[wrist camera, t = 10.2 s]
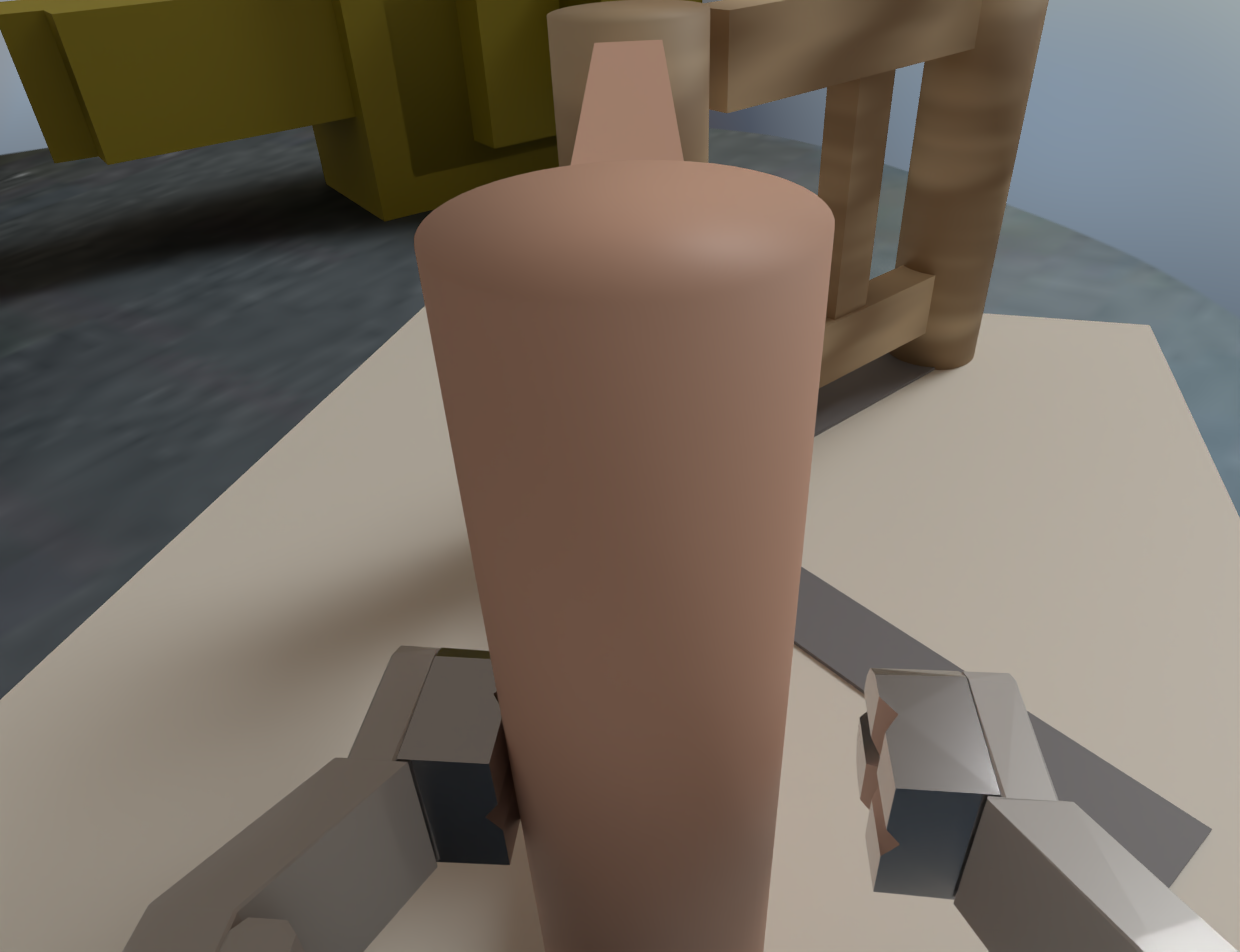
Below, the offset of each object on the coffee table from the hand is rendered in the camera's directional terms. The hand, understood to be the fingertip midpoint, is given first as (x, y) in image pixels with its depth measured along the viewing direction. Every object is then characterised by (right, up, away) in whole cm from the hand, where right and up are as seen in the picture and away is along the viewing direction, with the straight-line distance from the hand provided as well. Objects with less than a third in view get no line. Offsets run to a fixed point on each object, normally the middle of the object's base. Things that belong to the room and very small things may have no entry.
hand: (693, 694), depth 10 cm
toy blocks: (-11, +18, +38) cm, 44 cm away
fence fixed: (+5, +4, +17) cm, 18 cm away
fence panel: (0, -3, +7) cm, 7 cm away
